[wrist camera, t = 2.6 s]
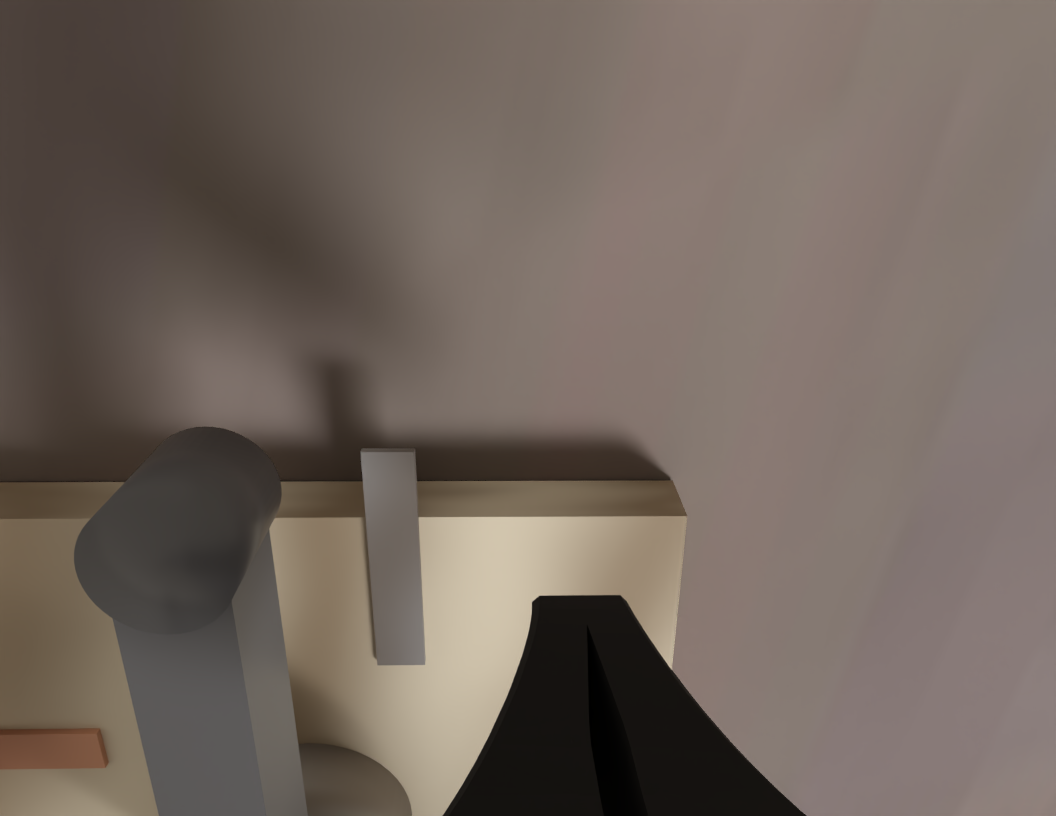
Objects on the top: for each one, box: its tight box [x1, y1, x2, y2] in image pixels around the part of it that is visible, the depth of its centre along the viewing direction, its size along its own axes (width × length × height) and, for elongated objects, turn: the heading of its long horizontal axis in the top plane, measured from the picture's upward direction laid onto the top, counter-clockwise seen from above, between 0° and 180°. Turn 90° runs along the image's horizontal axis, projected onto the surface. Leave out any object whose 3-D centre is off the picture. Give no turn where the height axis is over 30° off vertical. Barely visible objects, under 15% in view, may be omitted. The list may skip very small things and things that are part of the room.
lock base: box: [0, 448, 687, 816], centre depth 18 cm, size 18×18×4 cm
